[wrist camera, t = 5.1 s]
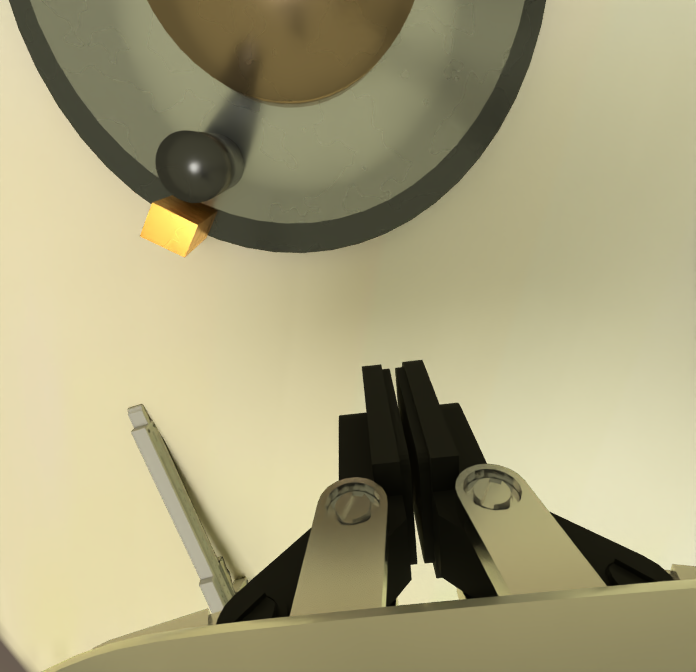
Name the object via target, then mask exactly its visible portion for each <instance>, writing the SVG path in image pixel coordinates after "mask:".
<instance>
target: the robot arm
mask: <svg viewBox="0 0 696 672" xmlns="http://www.w3.org/2000/svg"><path fill="white" fill-rule="evenodd" d="M362 372H363V382H364V392H365V402H366V411H367V413H358V414H349V415H339V481H337V482H335V483H333V484H332V485H330V486H329V487H327V489H326V490H325V491H324V492H323V493H322V494H321V496H320V499H319V501H318V504H317V508H316V512H315V516H314V520H313V524H312V528H310V529H309V530H308V531H307V532H306V533H305V534H304V535H302V536H301V537H300V538H299V539H298V540H297V541H296V542H294V543H293V544H292V545H291V546H290V547H289V548H288V549H286V550H285V551H284V552H283V553H282V554H281V555H280V556H278V557H277V558H276V559H275V560H274V561H273V562H272V563H270V564H269V565H268V566H267V567H266V568H265V569H264V570H262V571H261V572H260V573H259V574H258V575H257V576H256V577H254V578H253V579H252V580H251V581H250V582H249V583H247V584H246V585H245V586H244V587H243V588H242V589H241V590H239V591H238V592H237V593H236V594H235V595H234V596H233V597H232V598H231V599H230V600H229V601H228V602H227V604H226V605H225V606H224V608H223V609H222V610H221V611H218V612H215V613H212V614H210V611H209V609H205V610H202V611H198V612H195V613H192V614H189V615H186V616H183V617H180V618H177V619H174V620H171V621H167V622H164V623H161V624H158V625H155V626H152V627H149V628H146V629H143V630H140V631H136V632H133V633H130V634H127V635H124V636H121V637H118V638H115V639H112V640H109V641H107V642H105V643H102V644H100V645H98V646H96V647H94V648H93V649H92V650H90V651H87V652H84V653H81V654H78V655H76V656H74V657H72V658H69V659H67V660H65V661H63V662H61V663H59V664H57V665H54V666H52V667H50V668H48V669H46V670H44V671H42V672H696V566H686V565H677V564H672V567H671V570H664V569H663V568H662V567H661V566H659V565H658V564H657V563H655V562H653V561H651V560H650V559H648V558H646V557H645V556H643V555H641V554H638V553H636V552H634V551H632V550H630V549H628V548H626V547H624V546H621V545H619V544H617V543H615V542H613V541H611V540H609V539H607V538H604V537H602V536H600V535H598V534H596V533H594V532H592V531H590V530H587V529H585V528H583V527H581V526H579V525H577V524H575V523H572V522H570V521H568V520H566V519H564V518H562V517H560V516H558V515H555V514H553V513H551V512H549V511H548V509H547V508H546V507H545V506H544V504H543V503H542V502H541V500H540V499H539V498H538V497H537V495H536V494H535V493H534V491H533V490H532V489H531V488H530V486H529V485H528V484H527V482H526V481H525V480H524V479H523V478H522V477H521V476H520V475H519V474H517V473H516V472H514V471H512V470H510V469H509V468H506V467H503V466H500V465H494V464H487V463H486V461H485V458H484V456H483V454H482V452H481V450H480V448H479V445H478V443H477V441H476V439H475V437H474V434H473V432H472V430H471V428H470V426H469V424H468V421H467V419H466V417H465V415H464V413H463V411H462V408H461V406H460V405H459V403H451V404H441V405H439V402H438V399H437V397H436V394H435V392H434V389H433V386H432V384H431V381H430V379H429V376H428V373H427V371H426V368H425V366H424V363H423V361H422V360H417V361H408V362H402V367H400V368H395V373H396V386H397V398H398V405H397V400H396V396H395V391H394V387H393V382H392V378H391V373H390V369H382V366H381V365H372V366H363V367H362ZM414 515H415V520H416V525H417V530H418V535H419V540H420V545H421V550H422V555H423V559H424V563H433V565H434V570H435V574H436V578H444V579H445V580H447V581H448V582H450V583H451V584H453V585H454V586H456V587H457V594H458V598H459V600H452V601H442V602H431V603H421V604H410V605H400V606H398V598H397V597H398V595H399V594H400V593H401V592H402V591H403V589H404V588H405V587H406V586H407V584H408V583H409V582H410V581H411V580H412V579H411V566H410V565H413V564H417V552H416V538H415V524H414Z"/></svg>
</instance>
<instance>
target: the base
mask: <svg viewBox="0 0 696 672" xmlns="http://www.w3.org/2000/svg"><path fill="white" fill-rule="evenodd" d="M9 2H10V5H11V8H12V11H13V14H14V17H15V20H16V22H17V25H18V28H19V31H20V33H21V35H22V37H23V40H24V42H25V44H26V46H27V48H28V51H29V53H30V55H31V57H32V60H33V62H34V64H35V66H36V68H37V70H38V72H39V74H40V76H41V77H42V79H43V81H44V82H45V84H46V86H47V88H48V89H49V91H50V93H51V95H52V96H53V98H54V100H55V102H56V103H57V105H58V107H59V108H60V109H61V111H62V112H63V113H64V115H65V116H66V118H67V119H68V120H69V122H70V123H71V125H72V126H73V127H74V129H75V130H76V132H77V133H78V134H79V136H80V137H81V138H82V140H83V141H84V142H85V143H86V144H87V145H88V146H89V147H90V149H91V150H92V151H93V152H94V153H95V154H96V155H97V156H98V158H99V159H100V160H101V161H102V162H103V163H104V164H105V165H106V167H107V168H109V169H110V170H111V171H112V172H113V173H114V174H115V175H116V176H117V177H118V178H120V179H121V180H122V181H123V182H124V183H125V184H126V185H127V186H128V187H129V188H131V189H132V190H133V191H134V192H135V193H137V194H138V195H139V196H141V197H142V198H144V199H145V200H146V201H148V202H149V203H150V204H152V205H151V208H150V210H149V213H148V216H147V219H146V221H145V224H144V227H143V229H142V232H141V235H140V236H141V237H143V238H145V239H147V240H149V241H151V242H153V243H155V244H158V245H160V246H162V247H164V248H166V249H168V250H170V251H172V252H174V253H177V254H179V255H181V256H183V257H186V256H187V255H188V254H189V253H190V252H191V251H192V250H193V249H195V248H196V247H197V246H198V245H199V244H200V243H201V242H202V241H203V240H205V239H206V238H207V235H209V236H211V237H214V238H216V239H219V240H222V241H226V242H229V243H232V244H236V245H239V246H243V247H246V248H253V249H259V250H266V251H272V252H292V253H307V252H317V251H326V250H334V249H338V248H342V247H346V246H351V245H355V244H359V243H362V242H364V241H367V240H370V239H372V238H375V237H378V236H380V235H383V234H385V233H387V232H389V231H391V230H393V229H395V228H397V227H399V226H401V225H402V224H404V223H406V222H408V221H410V220H412V219H413V218H414V217H416V216H417V215H419V214H420V213H422V212H423V211H424V210H426V209H427V208H429V207H430V206H431V205H433V204H434V203H436V202H437V201H438V200H439V199H440V198H441V197H442V196H443V195H445V194H446V193H447V192H448V191H449V190H450V189H451V188H452V187H453V186H454V185H456V184H457V183H458V182H459V181H460V180H461V178H462V177H463V176H464V175H465V174H466V173H467V172H468V170H469V169H470V168H471V167H472V166H473V165H474V163H475V162H476V161H477V160H478V159H479V158H480V156H481V155H482V153H483V152H484V151H485V149H486V148H487V146H488V145H489V143H490V142H491V140H492V139H493V138H494V136H495V135H496V133H497V132H498V130H499V129H500V127H501V125H502V123H503V121H504V119H505V117H506V116H507V114H508V112H509V110H510V108H511V106H512V104H513V103H514V101H515V99H516V97H517V94H518V92H519V89H520V87H521V84H522V82H523V80H524V77H525V75H526V72H527V70H528V67H529V65H530V62H531V59H532V55H533V52H534V48H535V45H536V42H537V38H538V35H539V32H540V28H541V24H542V19H543V13H544V8H545V3H546V0H525V1H524V6H523V10H522V14H521V19H520V23H519V27H518V29H517V32H516V35H515V38H514V41H513V44H512V47H511V50H510V53H509V56H508V59H507V61H506V64H505V66H504V68H503V70H502V72H501V74H500V77H499V79H498V81H497V83H496V85H495V87H494V90H493V92H492V93H491V95H490V97H489V98H488V100H487V102H486V103H485V105H484V107H483V108H482V110H481V112H480V113H479V115H478V117H477V118H476V120H475V121H474V123H473V124H472V125H471V127H470V128H469V129H468V131H467V132H466V133H465V135H464V136H463V137H462V138H461V140H460V141H459V142H458V144H457V145H456V146H455V147H454V148H453V149H452V150H451V151H450V152H449V153H448V154H447V155H446V156H445V157H444V158H443V159H442V161H441V162H440V163H439V164H438V165H437V166H436V167H434V168H433V169H432V170H431V171H430V172H428V173H427V174H426V175H425V176H423V177H422V178H421V179H420V180H418V181H417V182H416V183H415V184H414V185H412V186H410V187H409V188H407V189H406V190H404V191H402V192H401V193H399V194H398V195H396V196H394V197H393V198H391V199H389V200H387V201H385V202H383V203H381V204H378V205H376V206H374V207H372V208H370V209H367V210H365V211H362V212H359V213H356V214H352V215H349V216H346V217H342V218H339V219H333V220H327V221H320V222H314V223H276V222H267V221H258V220H254V219H250V218H245V217H241V216H237V215H233V214H230V213H227V212H224V211H222V210H219V209H216V208H214V207H211V206H208V205H206V204H203V203H189V202H185V201H182V200H180V199H178V198H176V197H175V196H173V195H172V194H171V193H169V192H168V191H167V189H166V188H165V187H164V186H163V184H162V183H161V181H160V179H159V177H157V176H156V175H154V174H153V173H151V172H150V171H149V170H148V169H146V168H145V167H144V166H143V165H142V164H140V163H139V162H138V161H137V160H136V159H135V158H133V157H132V156H131V155H130V154H129V153H128V152H126V151H125V150H124V149H123V148H122V147H121V146H120V145H119V143H118V142H117V141H116V140H115V139H114V138H113V137H112V136H111V135H110V134H109V133H108V132H107V131H106V130H105V129H104V128H103V127H102V125H101V124H100V123H99V122H98V121H97V119H96V118H95V117H94V115H93V114H92V113H91V111H90V110H89V109H88V108H87V106H86V105H85V104H84V102H83V101H82V100H81V98H80V97H79V96H78V94H77V93H76V91H75V90H74V88H73V86H72V85H71V83H70V81H69V80H68V78H67V77H66V75H65V73H64V72H63V70H62V68H61V67H60V65H59V64H58V62H57V60H56V58H55V56H54V54H53V52H52V50H51V48H50V46H49V44H48V42H47V40H46V38H45V36H44V34H43V31H42V29H41V27H40V25H39V23H38V21H37V18H36V15H35V12H34V10H33V7H32V4H31V2H30V0H9Z"/></svg>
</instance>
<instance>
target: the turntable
mask: <svg viewBox="0 0 696 672" xmlns="http://www.w3.org/2000/svg"><path fill="white" fill-rule="evenodd" d="M524 1H525V0H30V2H31V4H32V7H33V10H34V12H35V15H36V18H37V21H38V23H39V25H40V27H41V29H42V31H43V34H44V36H45V38H46V40H47V42H48V44H49V46H50V48H51V50H52V52H53V54H54V56H55V58H56V60H57V62H58V64H59V65H60V67H61V68H62V70H63V72H64V73H65V75H66V77H67V78H68V80H69V81H70V83H71V85H72V86H73V88H74V90H75V91H76V93H77V94H78V96H79V97H80V98H81V100H82V101H83V102H84V104H85V105H86V106H87V108H88V109H89V110H90V111H91V113H92V114H93V115H94V117H95V118H96V119H97V121H98V122H99V123H100V124H101V125H102V127H103V128H104V129H105V130H106V131H107V132H108V133H109V134H110V135H111V136H112V137H113V138H114V139H115V140H116V141H117V142H118V143H119V145H120V146H121V147H122V148H123V149H124V150H125V151H126V152H128V153H129V154H130V155H131V156H132V157H133V158H135V159H136V160H137V161H138V162H139V163H140V164H142V165H143V166H144V167H145V168H146V169H148V170H149V171H150V172H151V173H153V174H154V175H156V176H157V177H159V179H160V181H161V183H162V184H163V186H164V187H165V188H166V189H167V191H168V192H169V193H171V194H172V195H173V196H175V197H176V198H178V199H180V200H182V201H185V202H189V203H203V204H206V205H208V206H211V207H214V208H216V209H219V210H222V211H224V212H227V213H230V214H233V215H237V216H241V217H245V218H250V219H254V220H258V221H267V222H276V223H314V222H320V221H327V220H333V219H339V218H342V217H346V216H349V215H352V214H356V213H359V212H362V211H365V210H367V209H370V208H372V207H374V206H376V205H378V204H381V203H383V202H385V201H387V200H389V199H391V198H393V197H394V196H396V195H398V194H399V193H401V192H402V191H404V190H406V189H407V188H409V187H410V186H412V185H414V184H415V183H416V182H417V181H418V180H420V179H421V178H422V177H423V176H425V175H426V174H427V173H428V172H430V171H431V170H432V169H433V168H434V167H436V166H437V165H438V164H439V163H440V162H441V161H442V159H443V158H444V157H445V156H446V155H447V154H448V153H449V152H450V151H451V150H452V149H453V148H454V147H455V146H456V145H457V144H458V142H459V141H460V140H461V138H462V137H463V136H464V135H465V133H466V132H467V131H468V129H469V128H470V127H471V125H472V124H473V123H474V121H475V120H476V118H477V117H478V115H479V113H480V112H481V110H482V108H483V107H484V105H485V103H486V102H487V100H488V98H489V97H490V95H491V93H492V92H493V90H494V87H495V85H496V83H497V81H498V79H499V77H500V74H501V72H502V70H503V68H504V66H505V64H506V61H507V59H508V56H509V53H510V50H511V47H512V44H513V41H514V38H515V35H516V32H517V29H518V27H519V23H520V19H521V14H522V10H523V6H524Z"/></svg>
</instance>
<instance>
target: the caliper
mask: <svg viewBox="0 0 696 672" xmlns="http://www.w3.org/2000/svg"><path fill="white" fill-rule="evenodd" d="M128 416H129V418H130V420H131V422H132V425H133V427H134V429H133V430H132V431H131V433H132V435H133V438H134V440H135V442H136V444H137V446H138V448H139V450H140V452H141V455H142V457H143V459H144V461H145V463H146V465H147V467H148V470H149V472H150V474H151V476H152V478H153V480H154V482H155V484H156V487H157V489H158V491H159V493H160V495H161V497H162V499H163V501H164V504H165V506H166V508H167V510H168V512H169V514H170V516H171V518H172V520H173V523H174V525H175V527H176V529H177V531H178V533H179V535H180V537H181V539H182V542H183V544H184V546H185V548H186V550H187V552H188V554H189V556H190V559H191V561H192V563H193V565H194V567H195V569H196V571H197V573H198V575H199V578H200V583H199V586H200V588H201V590H202V593H203V595H204V597H205V599H206V601H207V603H208V606H209V608H210V610H211V612H212V613H215V612H218V611H221V610H222V609H223V608H224V606H225V605H226V604H227V602H228V601H229V600H230V599H231V598H232V597H233V596H234V595H235V594H236V593H237V592H238V591H239V590H241V589H242V588H243V587H244V586H245V585H246V584H247V583H248V580H247V578H246V577H245V578H242V579H238V580H235V581H234V582H233V584H232V580H231V576H230V572H229V570H228V569H227V568H226V565H225V562H224V559H223V557H222V556H220V557H216V555H215V553H214V550H213V548H212V546H211V544H210V542H209V539H208V537H207V535H206V533H205V531H204V528H203V526H202V524H201V522H200V520H199V517H198V515H197V513H196V511H195V509H194V506H193V504H192V502H191V500H190V498H189V495H188V493H187V491H186V489H185V487H184V484H183V482H182V480H181V478H180V475H179V473H178V471H177V469H176V466H175V464H174V462H173V460H172V458H171V455H170V453H169V451H168V449H167V446H166V444H165V442H164V440H163V438H162V436H161V434H160V433H159V431H158V429H157V427H156V426H155V424H154V422H153V421H152V420H151V421H150V419H149V417H148V414H147V412H146V410H145V408H144V406H143V405H142V404H141V405H138V406H135V407H131V408H128Z"/></svg>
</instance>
